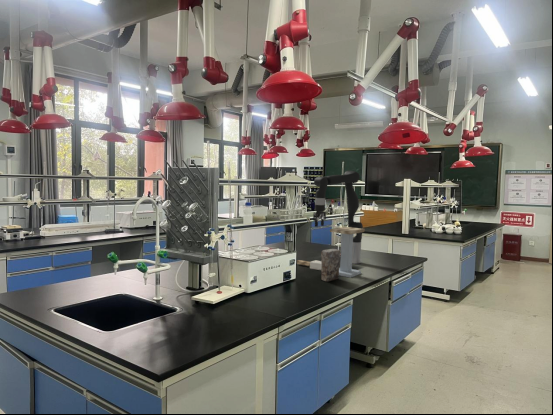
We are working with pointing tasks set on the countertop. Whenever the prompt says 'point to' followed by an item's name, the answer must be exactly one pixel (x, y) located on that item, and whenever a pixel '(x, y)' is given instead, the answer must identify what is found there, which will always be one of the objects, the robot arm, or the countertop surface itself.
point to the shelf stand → (347, 250)
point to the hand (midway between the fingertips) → (319, 226)
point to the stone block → (330, 264)
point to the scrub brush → (311, 264)
